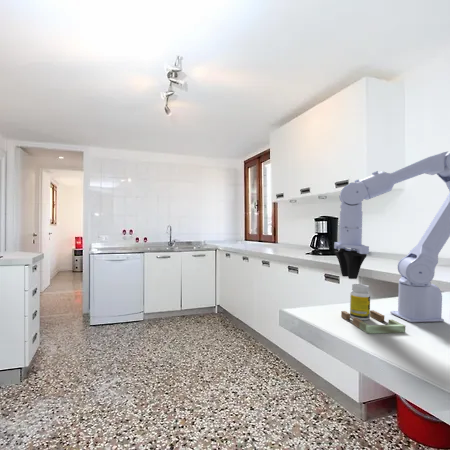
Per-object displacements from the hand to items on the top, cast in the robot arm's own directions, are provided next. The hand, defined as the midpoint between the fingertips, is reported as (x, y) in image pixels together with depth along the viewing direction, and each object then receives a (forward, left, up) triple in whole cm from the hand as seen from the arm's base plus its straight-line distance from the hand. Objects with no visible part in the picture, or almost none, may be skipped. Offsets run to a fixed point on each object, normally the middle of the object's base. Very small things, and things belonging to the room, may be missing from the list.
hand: (349, 277), depth 87 cm
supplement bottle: (0, +6, -10) cm, 11 cm away
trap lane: (0, +10, -9) cm, 14 cm away
